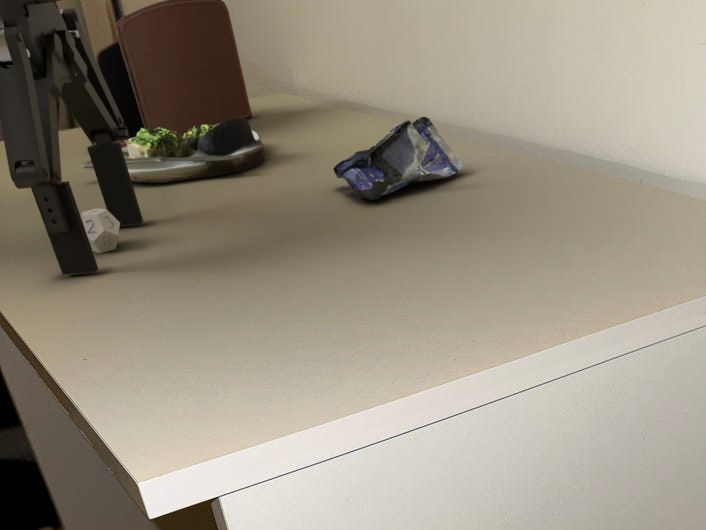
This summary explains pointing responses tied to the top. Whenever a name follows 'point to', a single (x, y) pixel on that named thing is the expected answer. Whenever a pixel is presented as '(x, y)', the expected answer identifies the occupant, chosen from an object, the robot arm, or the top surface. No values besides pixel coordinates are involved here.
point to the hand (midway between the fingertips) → (105, 246)
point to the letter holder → (175, 67)
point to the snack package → (399, 161)
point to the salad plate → (191, 152)
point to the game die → (101, 229)
